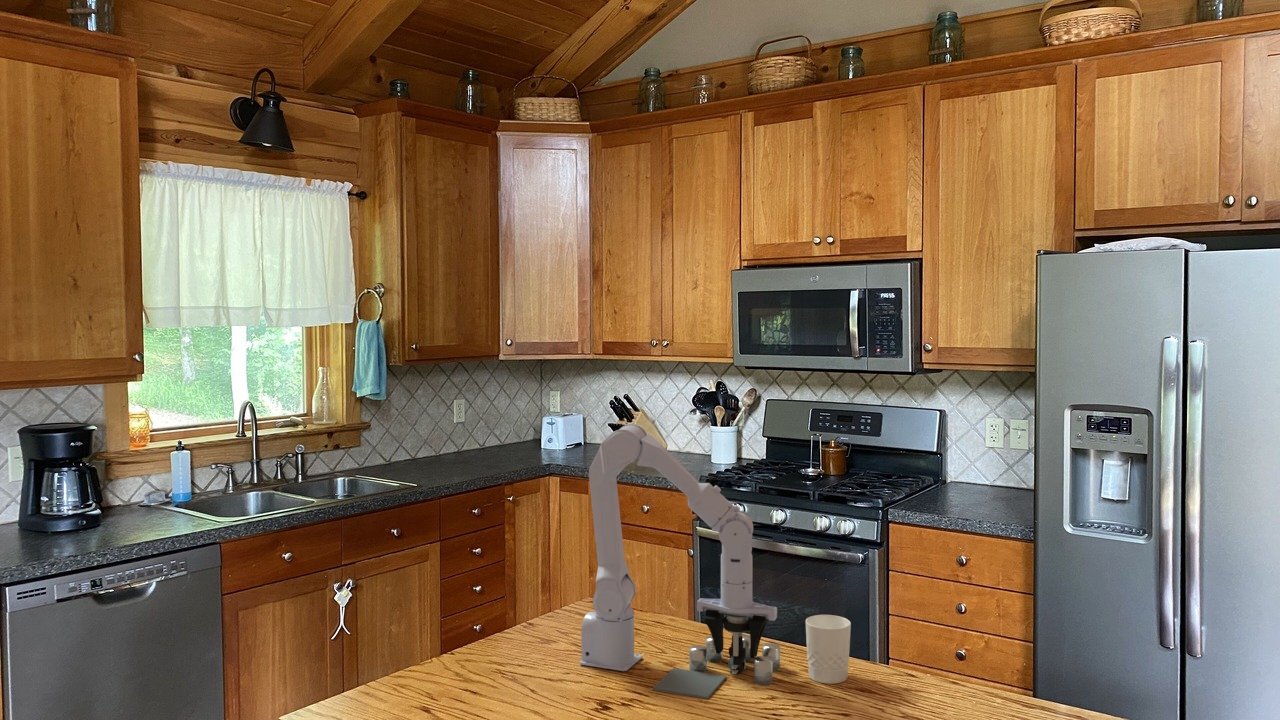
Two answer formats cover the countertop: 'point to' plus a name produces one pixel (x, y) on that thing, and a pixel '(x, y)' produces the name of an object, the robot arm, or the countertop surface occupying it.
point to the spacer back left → (712, 651)
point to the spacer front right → (763, 670)
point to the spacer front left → (698, 658)
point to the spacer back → (747, 647)
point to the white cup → (828, 648)
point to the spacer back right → (772, 654)
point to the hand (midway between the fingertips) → (736, 654)
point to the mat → (690, 683)
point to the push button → (736, 640)
